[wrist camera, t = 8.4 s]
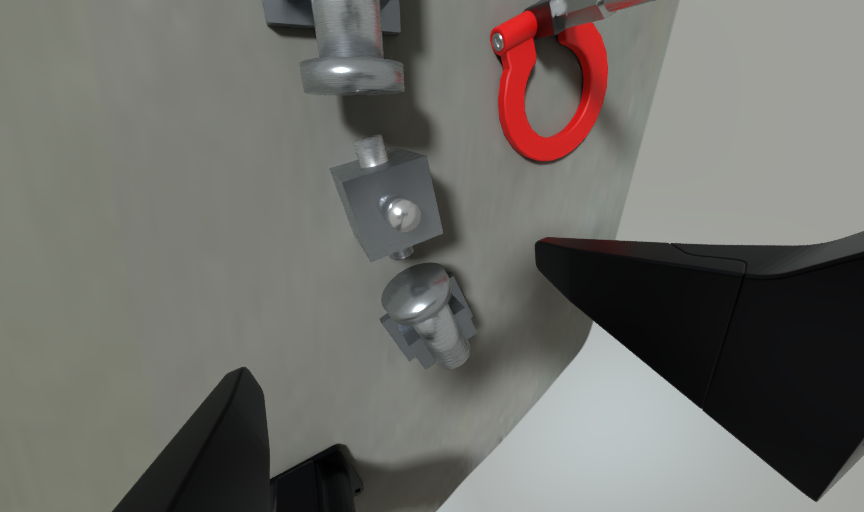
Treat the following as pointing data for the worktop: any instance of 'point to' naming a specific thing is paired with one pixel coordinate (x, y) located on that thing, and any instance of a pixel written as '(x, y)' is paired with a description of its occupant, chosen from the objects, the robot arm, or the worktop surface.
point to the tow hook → (514, 41)
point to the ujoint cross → (388, 199)
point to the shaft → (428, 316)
